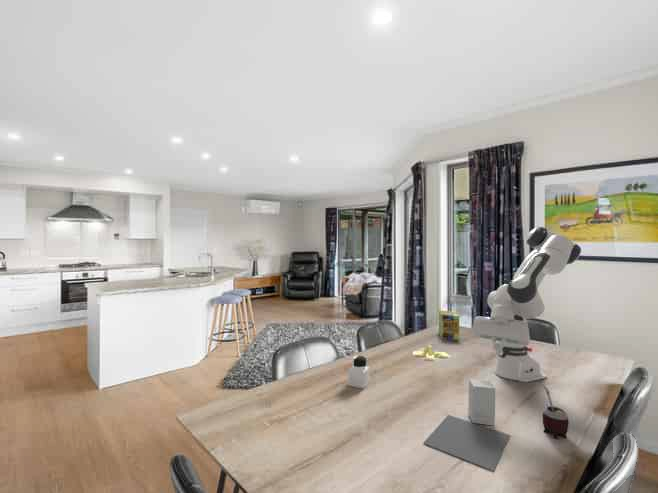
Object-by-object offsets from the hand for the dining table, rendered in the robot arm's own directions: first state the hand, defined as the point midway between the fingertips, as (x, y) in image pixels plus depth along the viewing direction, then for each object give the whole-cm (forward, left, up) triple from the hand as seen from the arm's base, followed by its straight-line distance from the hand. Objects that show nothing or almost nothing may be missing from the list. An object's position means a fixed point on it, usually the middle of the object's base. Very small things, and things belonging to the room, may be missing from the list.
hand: (497, 349), depth 129 cm
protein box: (-34, -90, -22) cm, 99 cm away
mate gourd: (-6, +20, -22) cm, 30 cm away
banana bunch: (-3, -59, -23) cm, 63 cm away
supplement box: (+12, +8, -22) cm, 26 cm away
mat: (+24, +18, -22) cm, 37 cm away
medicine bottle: (+46, -28, -22) cm, 58 cm away
